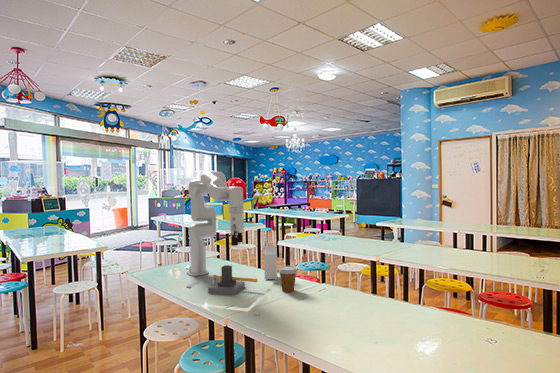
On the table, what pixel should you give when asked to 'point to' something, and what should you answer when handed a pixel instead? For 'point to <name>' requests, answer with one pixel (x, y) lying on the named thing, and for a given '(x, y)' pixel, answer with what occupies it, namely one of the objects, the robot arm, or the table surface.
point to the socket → (225, 288)
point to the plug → (226, 277)
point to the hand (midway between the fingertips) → (237, 243)
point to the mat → (195, 283)
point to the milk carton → (270, 262)
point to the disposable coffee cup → (287, 278)
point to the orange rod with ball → (236, 278)
